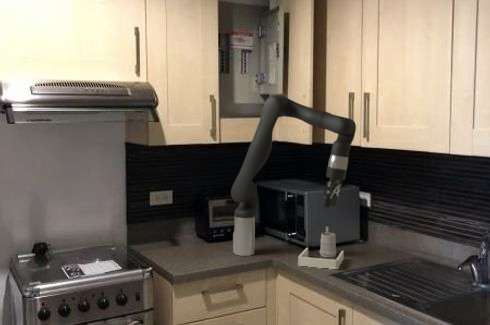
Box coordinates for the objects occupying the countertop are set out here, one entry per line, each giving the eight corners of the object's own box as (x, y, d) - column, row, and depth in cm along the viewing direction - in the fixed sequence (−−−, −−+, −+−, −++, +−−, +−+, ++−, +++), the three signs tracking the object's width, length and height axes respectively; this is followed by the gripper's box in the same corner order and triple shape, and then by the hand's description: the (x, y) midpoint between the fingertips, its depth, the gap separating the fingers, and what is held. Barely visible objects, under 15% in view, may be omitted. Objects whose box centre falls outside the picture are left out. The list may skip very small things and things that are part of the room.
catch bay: (306, 256, 242) (306, 247, 242) (343, 259, 237) (343, 250, 237) (297, 266, 227) (298, 256, 226) (337, 270, 221) (337, 260, 221)
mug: (320, 257, 240) (320, 231, 239) (318, 250, 252) (318, 225, 251) (337, 258, 240) (338, 231, 239) (334, 251, 252) (335, 225, 250)
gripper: (333, 165, 224) (326, 203, 226) (323, 165, 211) (315, 205, 213) (351, 168, 221) (343, 207, 222) (341, 169, 208) (333, 210, 210)
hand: (330, 206), depth 218 cm, fingers open, 8 cm apart
